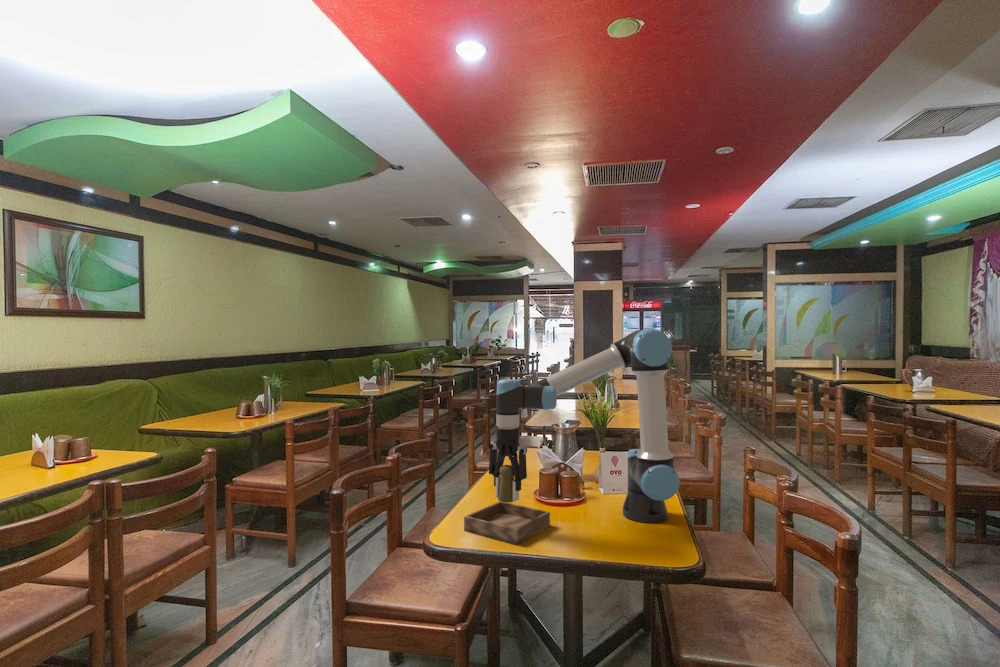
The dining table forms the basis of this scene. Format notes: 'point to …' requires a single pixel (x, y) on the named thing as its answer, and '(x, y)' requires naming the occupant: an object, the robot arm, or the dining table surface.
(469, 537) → the dining table surface
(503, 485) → the olive pepper mill
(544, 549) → the dining table surface
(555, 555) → the dining table surface
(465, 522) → the tray
